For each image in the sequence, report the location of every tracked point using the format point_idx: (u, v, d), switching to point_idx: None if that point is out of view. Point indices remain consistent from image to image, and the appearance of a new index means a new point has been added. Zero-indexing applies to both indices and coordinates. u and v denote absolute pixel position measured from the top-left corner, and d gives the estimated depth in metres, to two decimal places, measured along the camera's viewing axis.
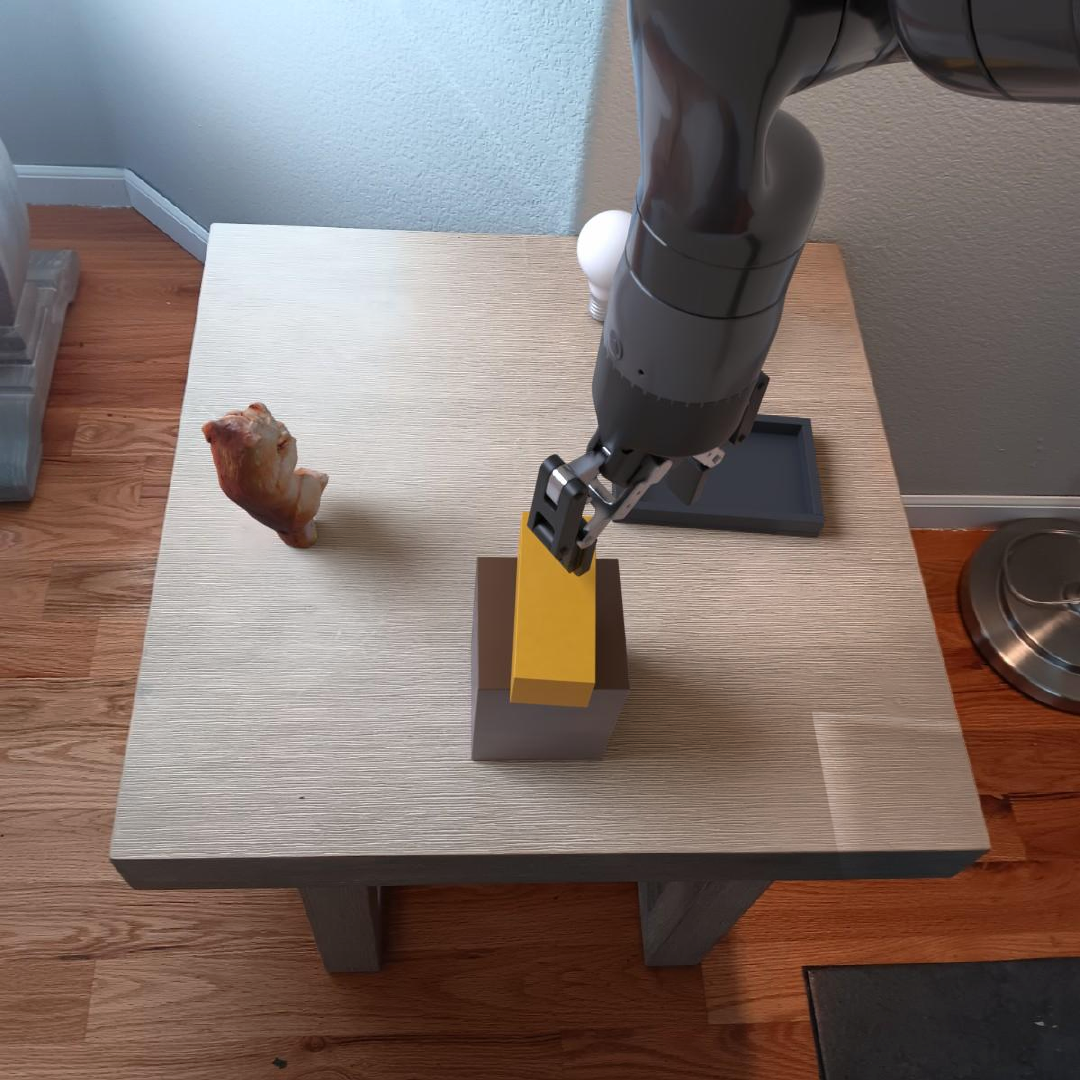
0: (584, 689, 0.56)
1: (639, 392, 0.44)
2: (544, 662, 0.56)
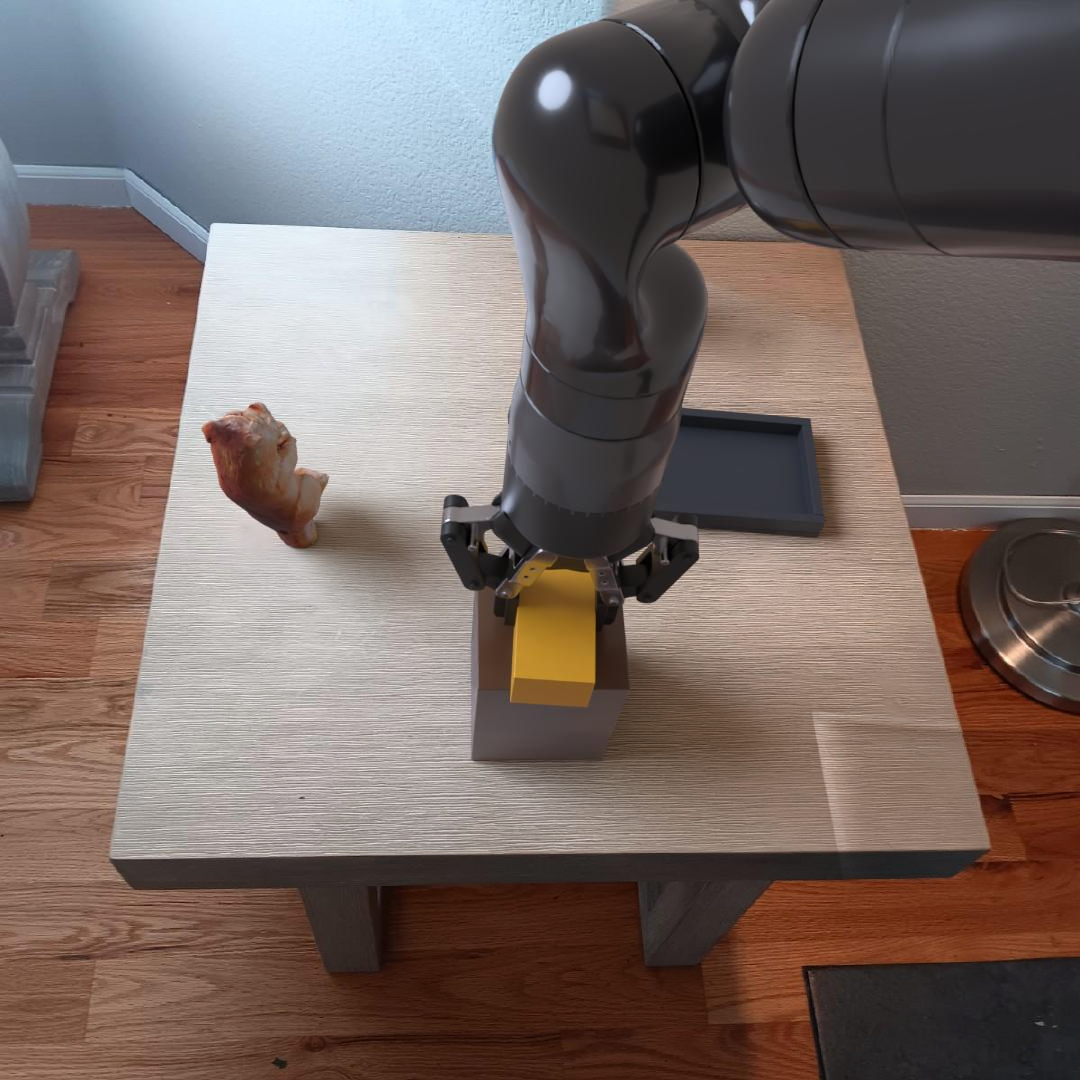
0: (584, 689, 0.56)
1: (509, 462, 0.46)
2: (544, 662, 0.56)
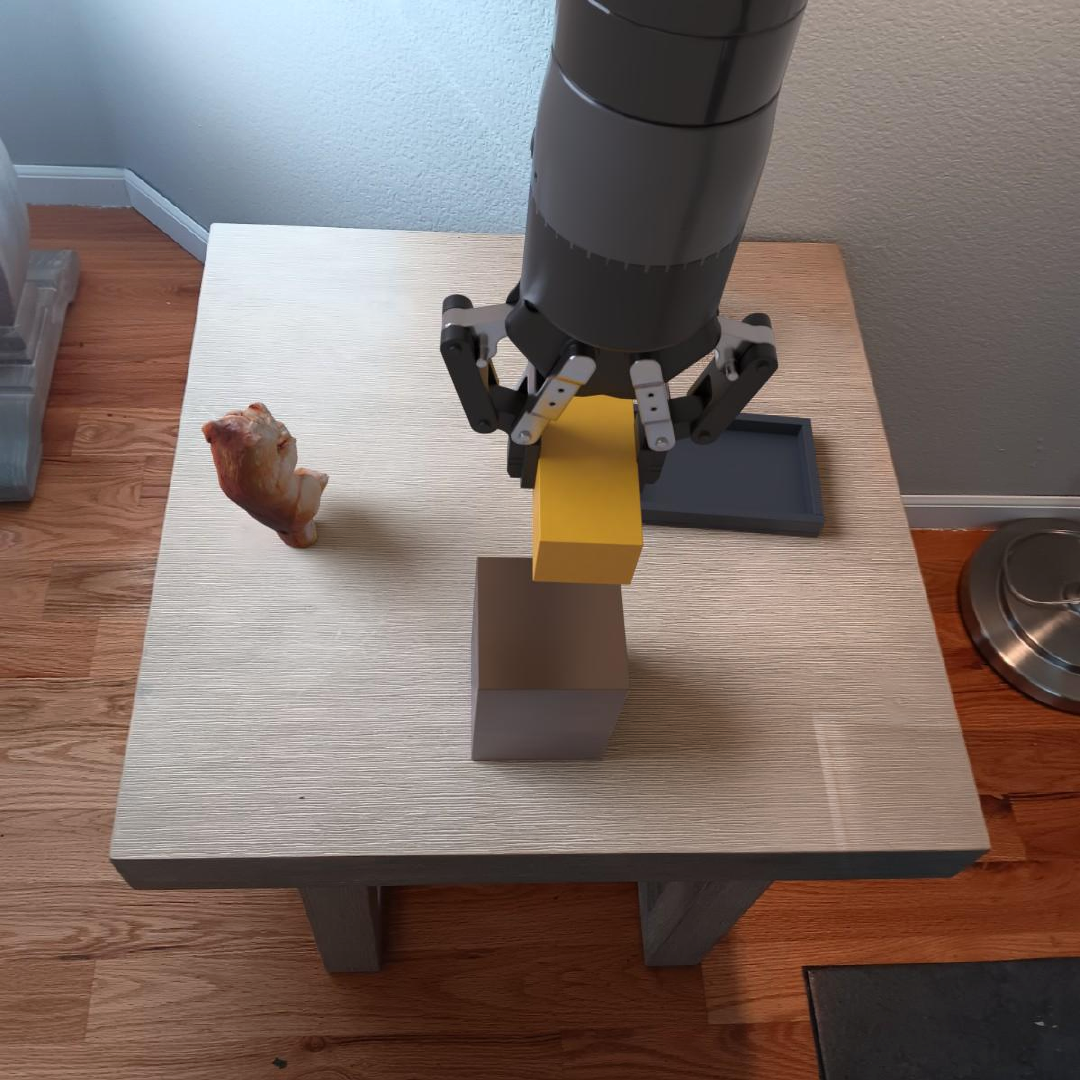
0: (629, 556, 0.44)
1: (534, 209, 0.34)
2: (576, 521, 0.44)
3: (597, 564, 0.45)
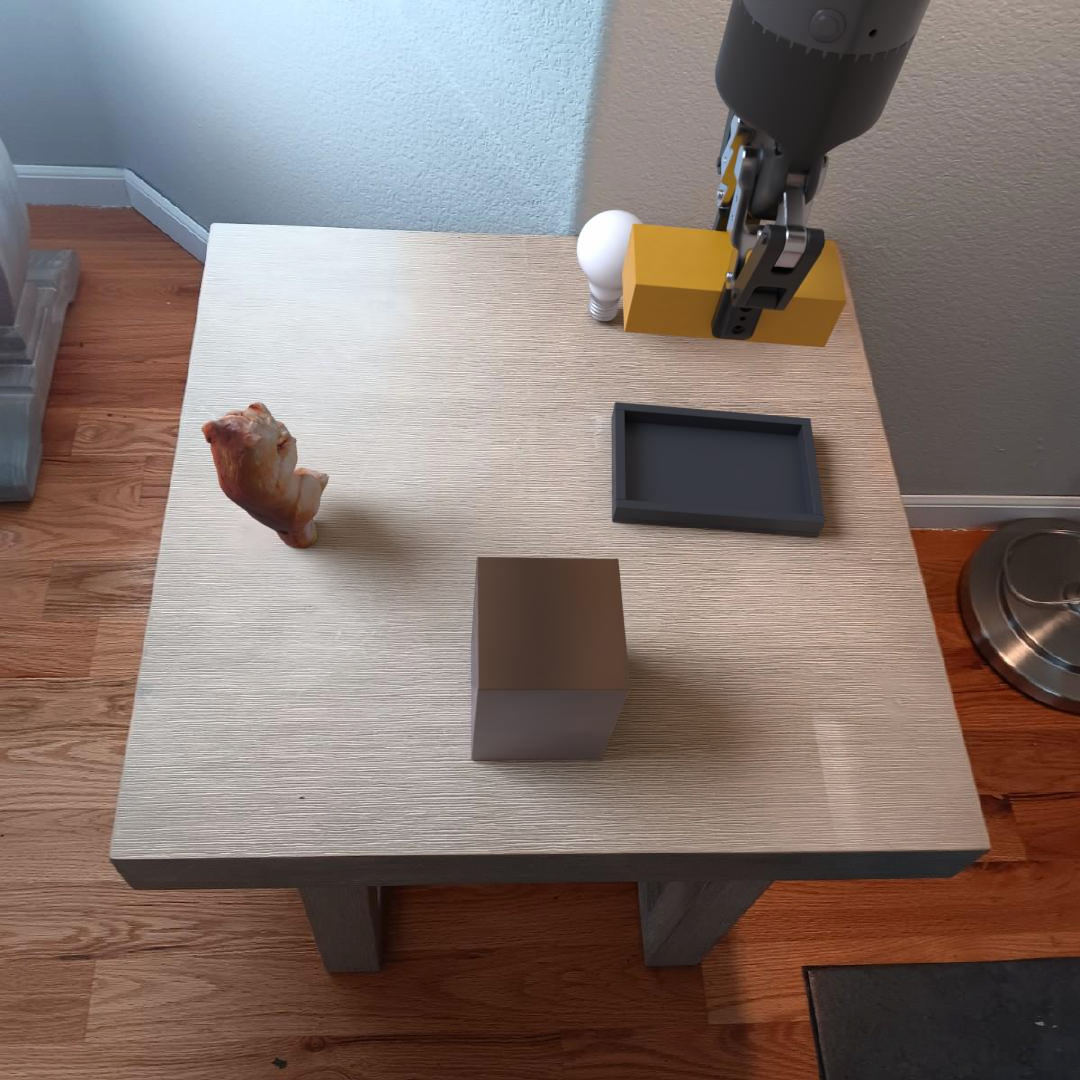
0: None
1: (866, 61, 0.39)
2: (823, 276, 0.52)
3: None
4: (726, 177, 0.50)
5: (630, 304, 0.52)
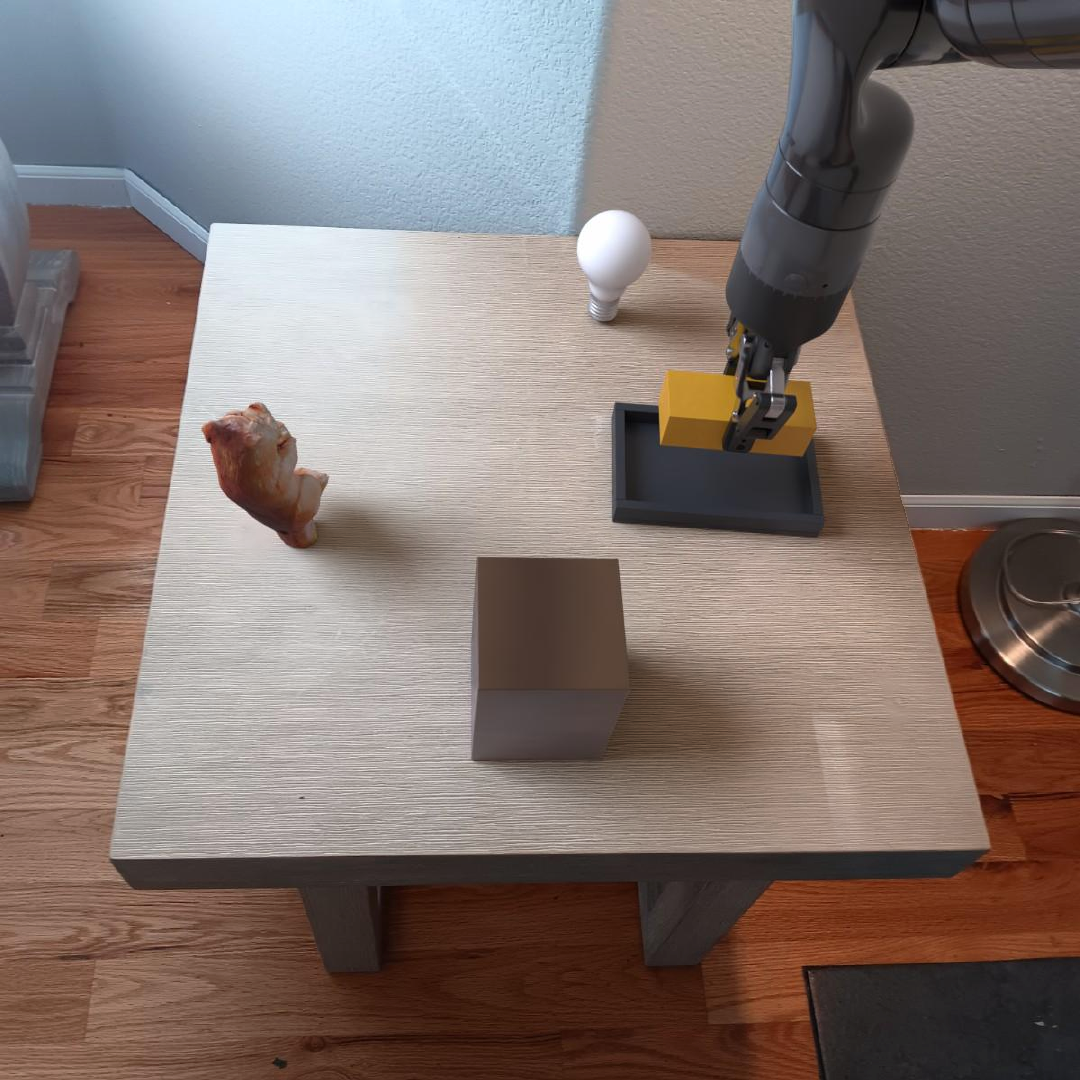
0: None
1: (821, 299, 0.61)
2: (800, 409, 0.75)
3: None
4: (733, 345, 0.72)
5: (665, 428, 0.75)
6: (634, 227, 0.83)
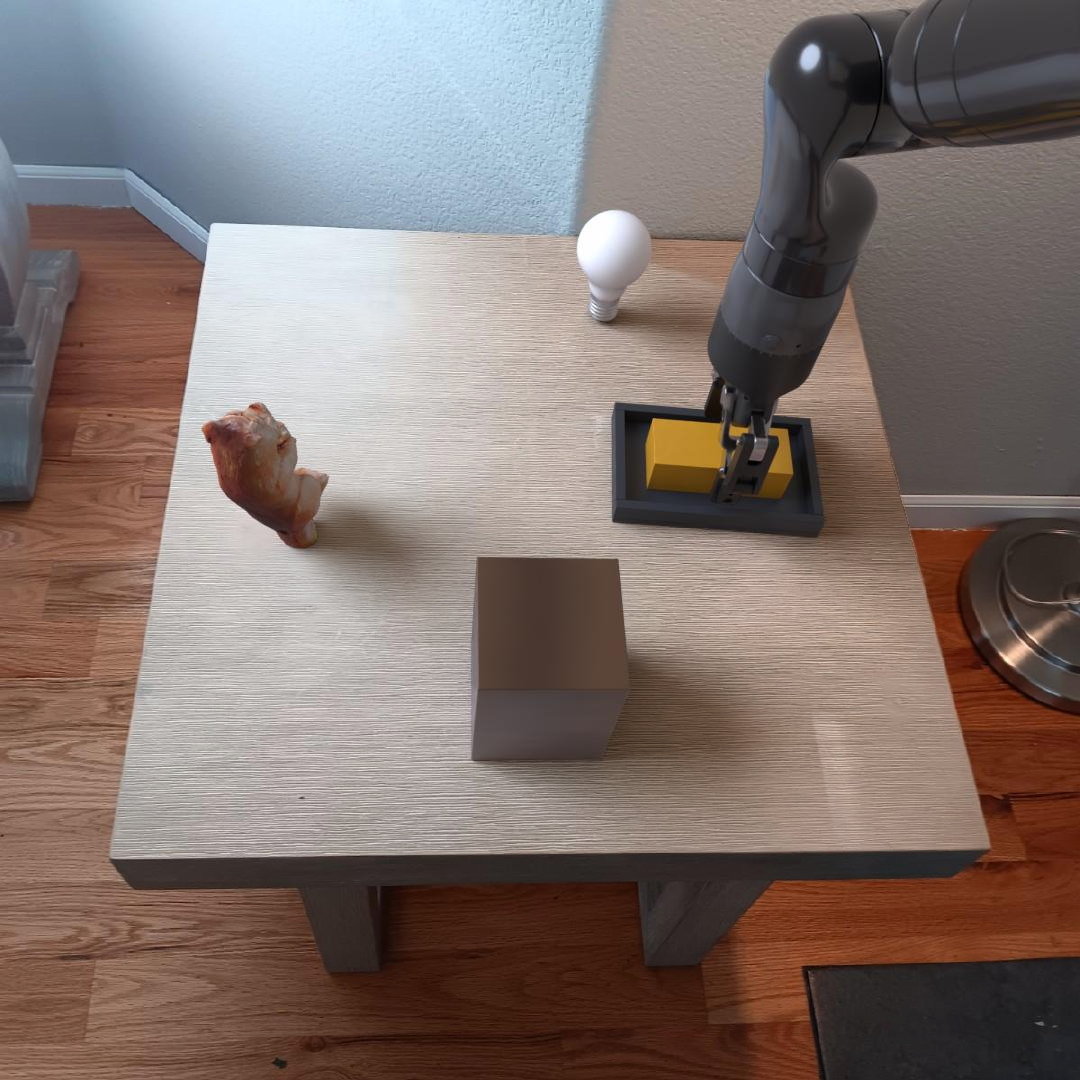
0: None
1: (795, 358, 0.66)
2: (778, 456, 0.80)
3: None
4: (716, 378, 0.77)
5: (651, 473, 0.80)
6: (634, 227, 0.83)
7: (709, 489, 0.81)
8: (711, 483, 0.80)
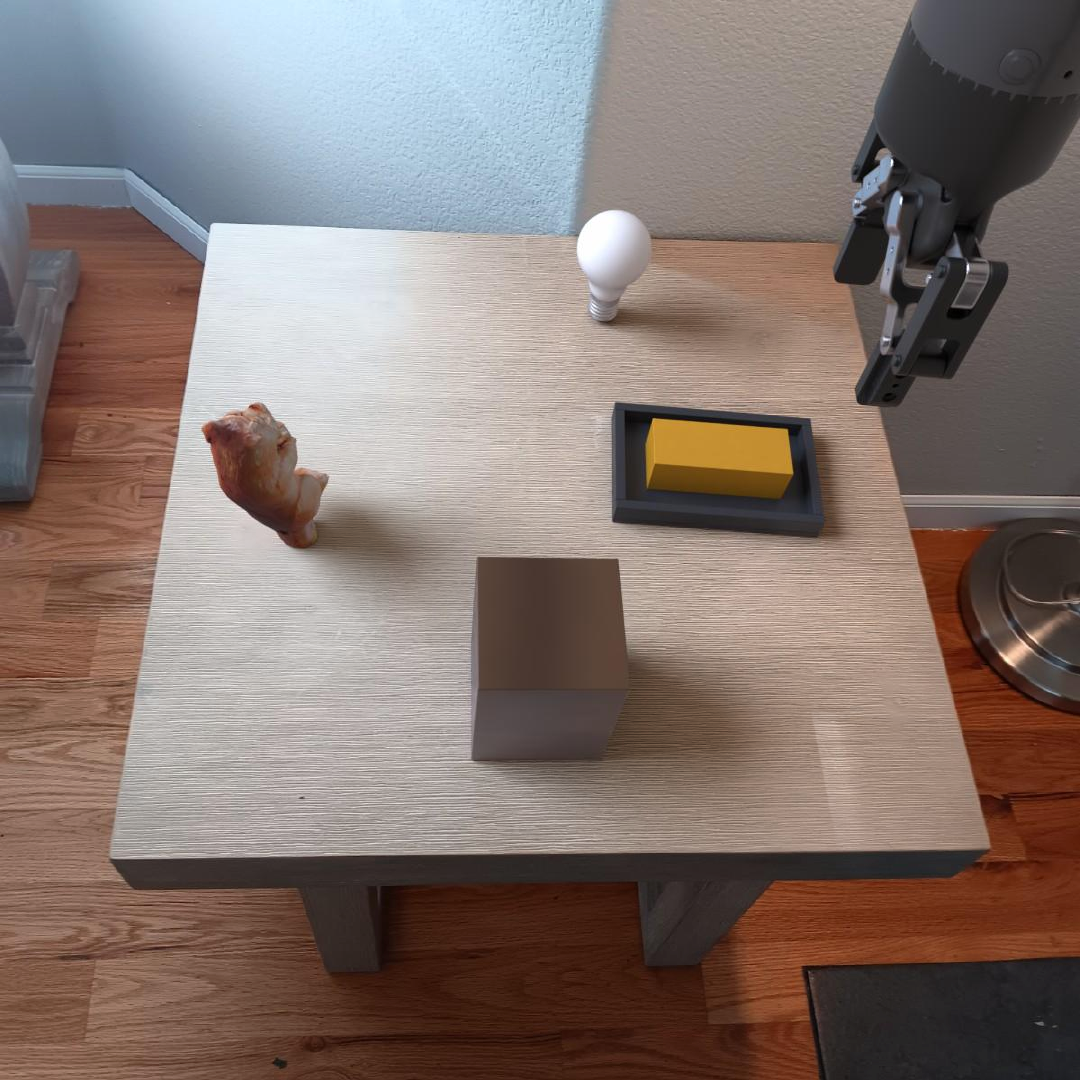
0: None
1: (1055, 104, 0.36)
2: (778, 456, 0.80)
3: None
4: (867, 202, 0.48)
5: (651, 473, 0.80)
6: (634, 227, 0.83)
7: (709, 489, 0.81)
8: (711, 483, 0.80)
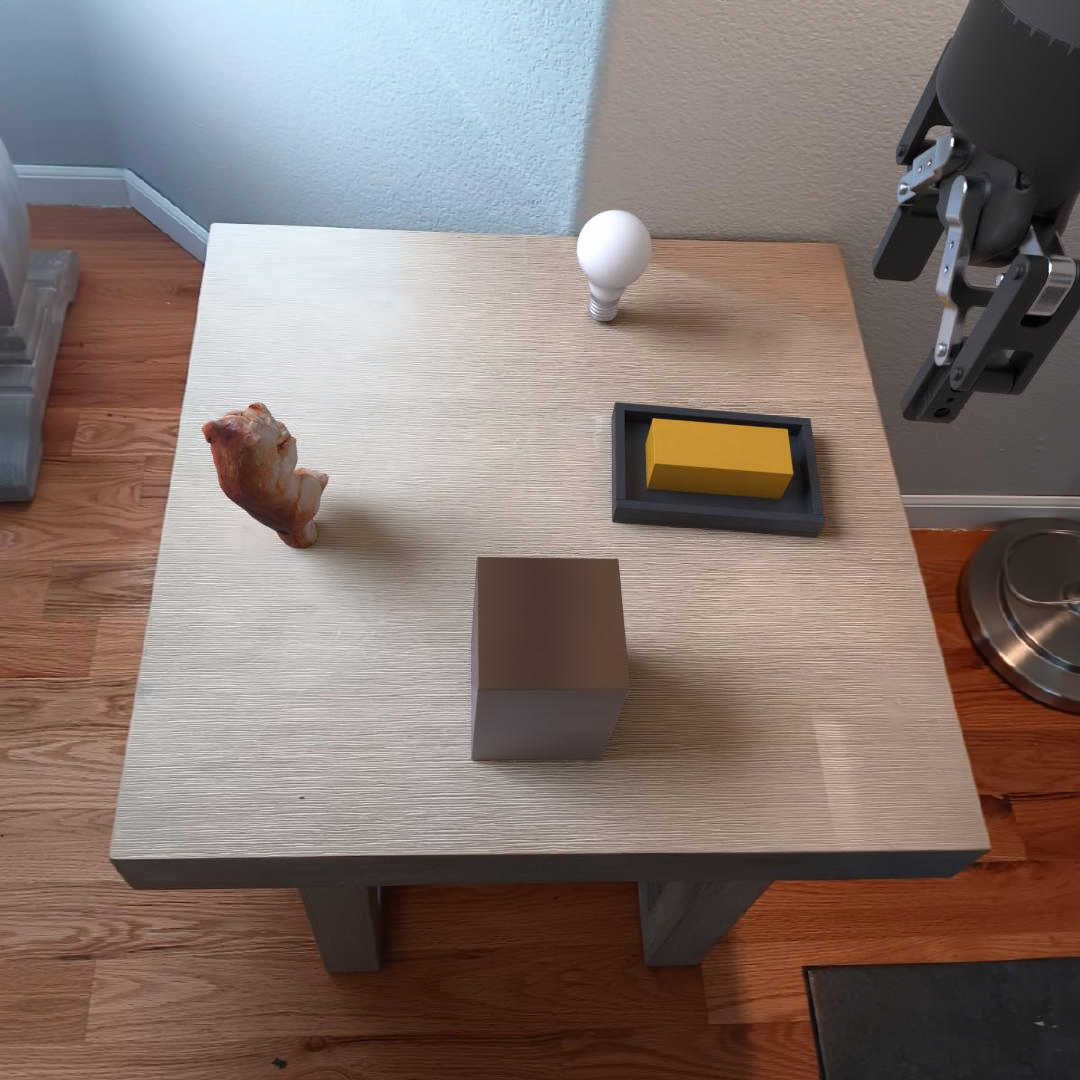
0: None
1: None
2: (778, 456, 0.80)
3: None
4: (917, 188, 0.42)
5: (651, 473, 0.80)
6: (634, 227, 0.83)
7: (709, 489, 0.81)
8: (711, 483, 0.80)
